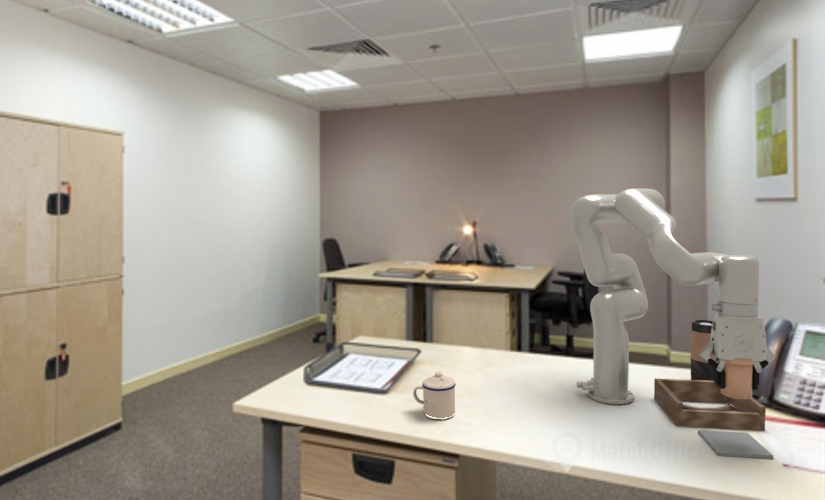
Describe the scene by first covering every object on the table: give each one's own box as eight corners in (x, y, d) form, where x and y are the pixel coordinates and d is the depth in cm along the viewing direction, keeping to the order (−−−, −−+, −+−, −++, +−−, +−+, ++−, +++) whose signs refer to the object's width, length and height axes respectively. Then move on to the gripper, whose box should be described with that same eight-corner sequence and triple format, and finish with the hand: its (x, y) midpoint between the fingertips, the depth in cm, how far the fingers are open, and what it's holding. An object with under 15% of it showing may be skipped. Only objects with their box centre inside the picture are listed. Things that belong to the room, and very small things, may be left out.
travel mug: (723, 391, 143) (725, 325, 142) (695, 390, 145) (696, 325, 143) (712, 382, 151) (714, 320, 149) (686, 381, 152) (687, 319, 151)
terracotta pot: (726, 399, 107) (727, 359, 106) (713, 388, 114) (713, 351, 113) (760, 400, 106) (761, 360, 105) (744, 389, 113) (745, 351, 112)
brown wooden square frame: (677, 426, 121) (677, 403, 121) (654, 398, 139) (654, 378, 139) (764, 430, 118) (765, 406, 117) (729, 401, 136) (730, 381, 135)
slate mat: (718, 455, 106) (718, 452, 106) (697, 433, 117) (697, 429, 117) (773, 459, 105) (773, 455, 104) (747, 435, 115) (747, 432, 115)
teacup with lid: (459, 409, 134) (458, 368, 134) (451, 423, 126) (450, 379, 125) (419, 404, 138) (418, 365, 138) (408, 417, 130) (407, 375, 129)
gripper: (703, 312, 106) (701, 391, 107) (790, 313, 103) (788, 394, 104) (689, 306, 114) (688, 380, 115) (770, 306, 111) (768, 383, 112)
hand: (736, 386), depth 110 cm, fingers closed on terracotta pot, 6 cm apart
